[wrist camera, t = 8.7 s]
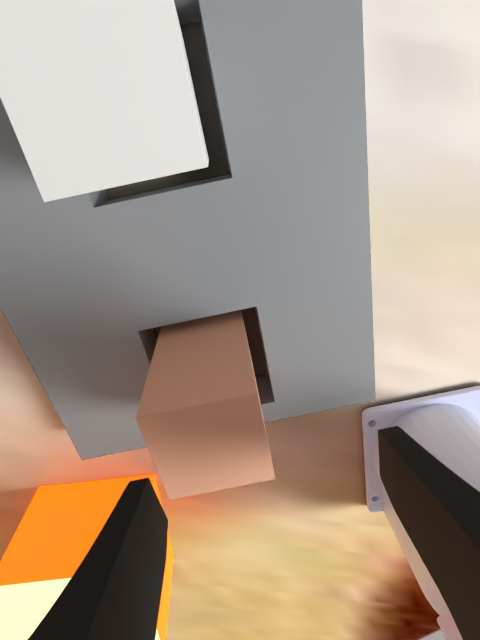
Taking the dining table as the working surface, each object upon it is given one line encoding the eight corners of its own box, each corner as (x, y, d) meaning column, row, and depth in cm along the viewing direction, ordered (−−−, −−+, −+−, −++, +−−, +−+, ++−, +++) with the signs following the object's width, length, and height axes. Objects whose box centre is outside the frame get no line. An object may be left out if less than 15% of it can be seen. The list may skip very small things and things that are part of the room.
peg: (252, 362, 20) (275, 479, 13) (183, 377, 20) (169, 500, 13) (239, 299, 19) (257, 392, 11) (164, 314, 19) (135, 417, 12)
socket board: (357, 373, 21) (433, 488, 14) (95, 427, 21) (37, 567, 14) (332, -53, 13) (485, -307, 6) (-92, 42, 13) (-453, -87, 6)
